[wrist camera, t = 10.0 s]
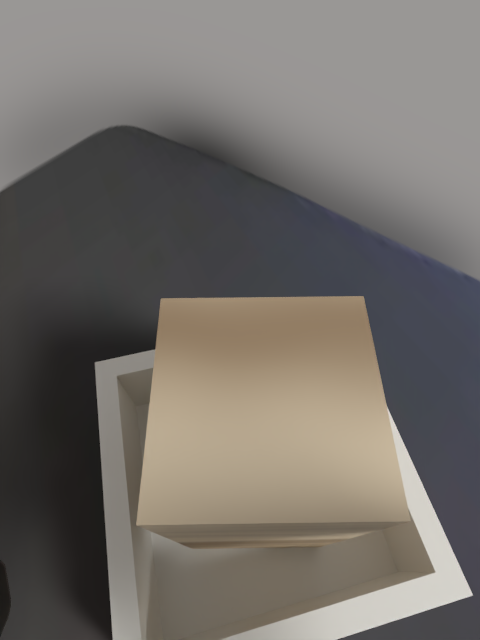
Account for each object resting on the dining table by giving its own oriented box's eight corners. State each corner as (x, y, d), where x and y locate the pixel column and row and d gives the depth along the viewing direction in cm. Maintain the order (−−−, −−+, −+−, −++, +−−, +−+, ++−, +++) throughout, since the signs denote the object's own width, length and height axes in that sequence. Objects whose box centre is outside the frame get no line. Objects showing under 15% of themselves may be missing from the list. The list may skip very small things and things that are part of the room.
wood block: (319, 547, 16) (410, 521, 7) (192, 548, 16) (136, 525, 7) (307, 422, 18) (363, 296, 10) (197, 423, 18) (160, 298, 10)
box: (422, 589, 16) (472, 595, 12) (146, 676, 14) (117, 710, 11) (325, 351, 21) (342, 308, 18) (120, 398, 20) (94, 362, 16)
